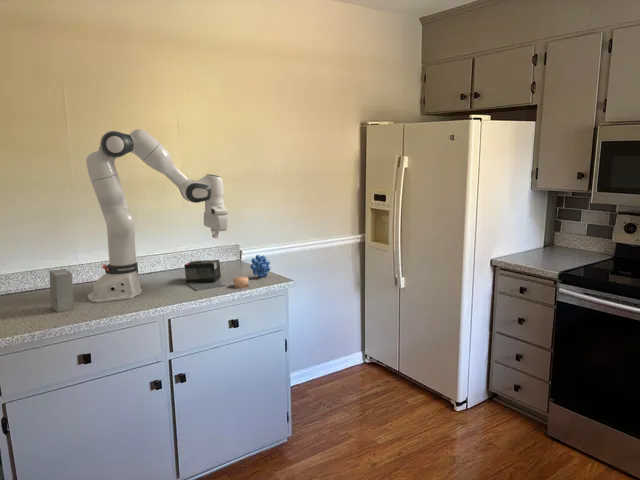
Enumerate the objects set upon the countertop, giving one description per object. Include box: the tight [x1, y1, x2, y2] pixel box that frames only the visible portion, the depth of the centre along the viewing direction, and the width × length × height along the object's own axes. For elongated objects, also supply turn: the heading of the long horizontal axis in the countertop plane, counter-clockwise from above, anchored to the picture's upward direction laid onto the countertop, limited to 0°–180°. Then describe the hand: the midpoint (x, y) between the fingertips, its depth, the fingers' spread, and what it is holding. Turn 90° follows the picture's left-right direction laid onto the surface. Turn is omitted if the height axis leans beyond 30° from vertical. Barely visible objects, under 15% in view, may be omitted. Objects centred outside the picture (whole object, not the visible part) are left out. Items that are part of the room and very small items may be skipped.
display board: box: [186, 279, 226, 291], centre depth 232 cm, size 14×13×1 cm
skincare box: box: [48, 268, 75, 313], centre depth 197 cm, size 8×7×16 cm
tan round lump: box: [233, 275, 250, 289], centre depth 230 cm, size 7×7×4 cm
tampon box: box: [184, 259, 222, 284], centre depth 238 cm, size 11×9×15 cm
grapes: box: [249, 254, 271, 279], centre depth 243 cm, size 12×7×12 cm, turn 130°
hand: (215, 237), depth 231 cm, fingers closed
